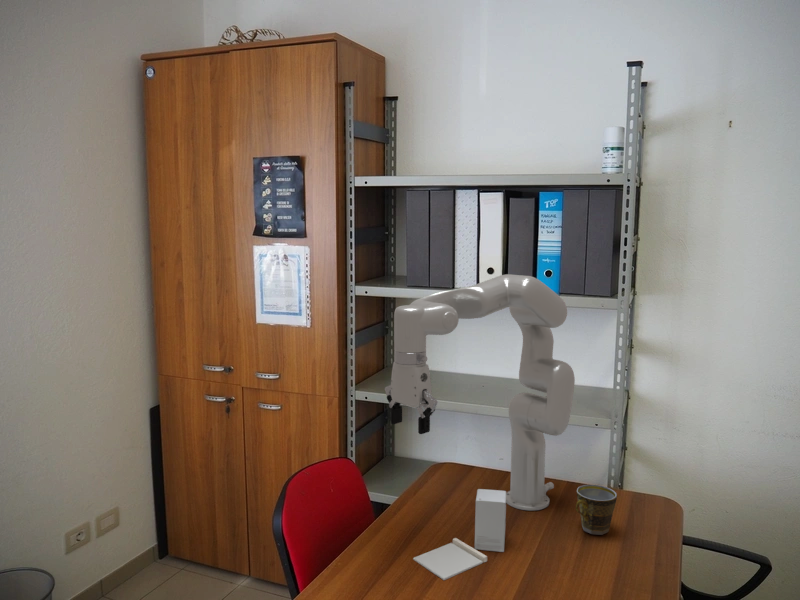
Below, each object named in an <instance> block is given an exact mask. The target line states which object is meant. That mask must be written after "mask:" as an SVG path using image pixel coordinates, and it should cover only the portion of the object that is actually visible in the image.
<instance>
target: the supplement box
mask: <svg viewBox="0 0 800 600" xmlns="http://www.w3.org/2000/svg"><path fill="white" fill-rule="evenodd" d="M506 493H507V491H506V490H501V489H498V490H497V489H484V488H478V489H477V490H476V498H475V511H474V512H475V514H474V516H475V518H474V549H476V550H481V551H488V552H489V551H490V552H500V553H504V552H505V539H506V523H507V517H506V516H507V515H506V514H507V503H506Z"/></svg>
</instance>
